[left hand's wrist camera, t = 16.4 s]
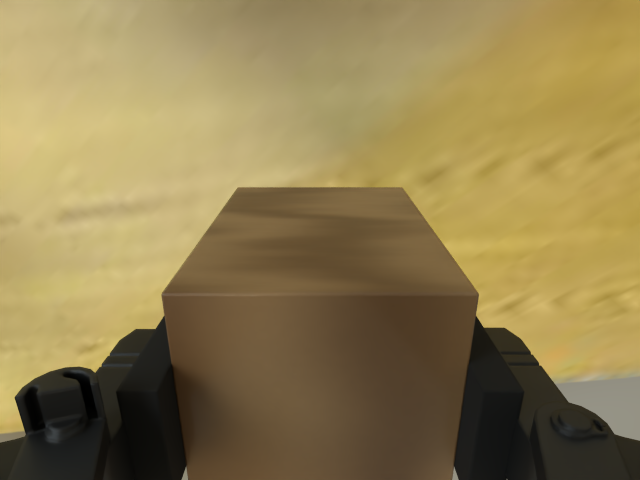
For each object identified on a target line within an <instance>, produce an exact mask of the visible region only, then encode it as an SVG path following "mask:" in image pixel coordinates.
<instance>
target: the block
mask: <svg viewBox="0 0 640 480" xmlns="http://www.w3.org/2000/svg"><path fill="white" fill-rule="evenodd" d="M478 297H479V294H478V292H477V291H476V289H475V288H474V286H473V285H472V284H471V282H470V281H469V279H468V278H467V277H466V275H465V274H464V272H463V271H462V270H461V268H460V267H459V266H458V264H457V263H456V261H455V260H454V259H453V257H452V256H451V254H450V253H449V252H448V250H447V249H446V247H445V246H444V245H443V243H442V242H441V241H440V239H439V238H438V236H437V235H436V234H435V232H434V231H433V229H432V228H431V227H430V225H429V224H428V222H427V221H426V220H425V218H424V217H423V216H422V214H421V213H420V211H419V210H418V209H417V207H416V206H415V204H414V203H413V202H412V200H411V199H410V197H409V196H408V195H407V193H406V192H405V190H404V189H403V188H237V189H236V191H235V192H234V194H233V195H232V196H231V198H230V199H229V201H228V202H227V203H226V205H225V206H224V208H223V209H222V210H221V212H220V213H219V214H218V216H217V217H216V219H215V220H214V221H213V223H212V224H211V226H210V227H209V228H208V230H207V231H206V233H205V234H204V235H203V237H202V238H201V240H200V241H199V242H198V244H197V245H196V247H195V248H194V249H193V251H192V252H191V253H190V255H189V256H188V258H187V259H186V260H185V262H184V263H183V265H182V266H181V267H180V269H179V270H178V272H177V273H176V274H175V276H174V277H173V279H172V280H171V281H170V283H169V284H168V285H167V287H166V288H165V290H164V291H163V292H162V301H163V308H164V315H165V322H166V329H167V336H168V343H169V350H170V357H171V363H172V370H173V377H174V384H175V391H176V398H177V405H178V412H179V419H180V426H181V433H182V440H183V447H184V453H185V460H186V467H187V474H188V480H452V477H453V470H454V463H455V456H456V449H457V442H458V435H459V428H460V421H461V414H462V407H463V401H464V394H465V387H466V380H467V373H468V366H469V359H470V352H471V345H472V338H473V332H474V325H475V318H476V311H477V304H478Z"/></svg>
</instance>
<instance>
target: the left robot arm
mask: <svg viewBox="0 0 640 480" xmlns="http://www.w3.org/2000/svg"><path fill="white" fill-rule="evenodd" d="M15 400H16V403H17V407H18V410H19V413H20V416H21V420H22V423H23V426H24V430H25V433H26V435H25V437H22V438H19V439H15V440H10V441H6V442H2V443H0V480H181V479H182V477H183V473H184V471H185V468H186V460H185V453H184V447H183V440H182V433H181V426H180V419H179V412H178V405H177V398H176V391H175V384H174V377H173V370H172V363H171V357H170V350H169V343H168V336H167V329H166V322H165V315H164V317H163V319H162V320H161V322H160V323H159V325H158V326H157V328H156V329H136V330H134V331H133V332H131V333H130V334H128V335H127V336H125V337H124V338H123V339H121V340H120V341H119V342H118V343H117V345H116V346H115V347H114V349H113V350H112V351H111V353H110V356H108V357H107V358H106V359H105V361H104V362H103V363H102V367H99V369H98V370H97V371H96V373H94V372H93V371H92V370H91V369H88V368H83V367H68V368H62V369H58V370H55V371H51V372H48V373H46V374H44V375H42V376H40V377H37V378H35V379H34V380H32V381H31V382H30V383H28V384H27V385H25V386H24V387H23V388H22V389H21V390H20V391H19V393H18V394H17V395H16V396H15ZM454 467H455V470H456V473H457V476H458V479H459V480H640V441H638V440H634V439H629V438H625V437H621V436H618V435H615V434H614V433H613V431H612V430H611V428H610V427H609V425H608V424H607V423H606V422H605V421H604V420H602V419H601V418H600V417H599V416H598V415H596V414H595V413H593V412H591V411H589V410H587V409H585V408H584V407H582V406H579V405H575V404H572V403H569V402H568V401H567V400H566V398H565V397H564V396H563V394H562V393H561V392H560V390H559V389H558V388H557V386H556V385H555V384H554V382H553V381H552V380H551V378H550V377H549V376H548V374H547V373H546V372H545V370H544V369H543V368H542V366H539V362H538V361H537V360H536V358H535V357H534V356H533V355H531V352H530V351H529V349H528V348H527V347H526V345H525V344H524V343H523V341H522V340H521V339H520V338H519V337H517V336H516V335H514V334H513V333H511V332H510V331H508V330H507V329H505V328H484V327H483V326H482V324H481V323H480V321H479V320H478V318H477V317H476V318H475V325H474V332H473V338H472V345H471V352H470V359H469V366H468V373H467V380H466V387H465V394H464V401H463V407H462V414H461V421H460V428H459V435H458V442H457V449H456V456H455V463H454Z"/></svg>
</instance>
